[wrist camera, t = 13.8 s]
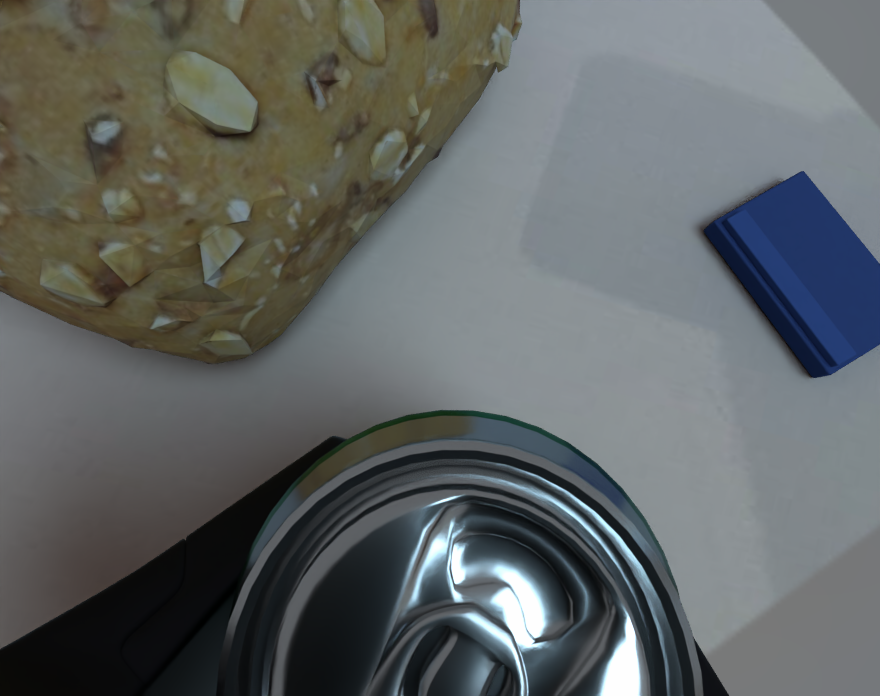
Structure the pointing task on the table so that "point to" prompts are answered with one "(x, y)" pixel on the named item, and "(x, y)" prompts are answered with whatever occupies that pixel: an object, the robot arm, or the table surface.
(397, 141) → the bread
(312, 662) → the soda can
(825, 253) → the blue book
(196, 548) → the robot arm
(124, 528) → the table surface
